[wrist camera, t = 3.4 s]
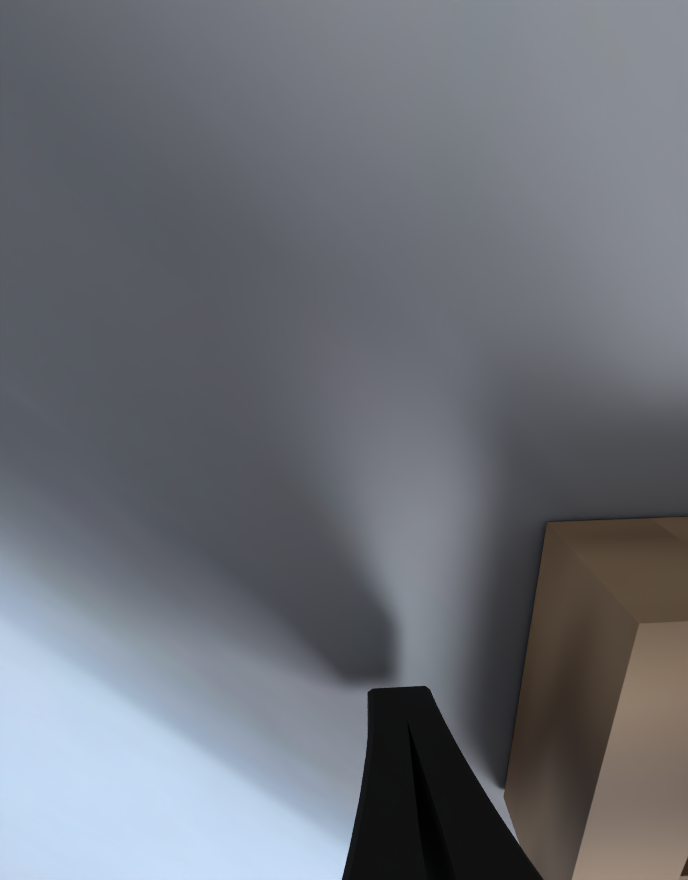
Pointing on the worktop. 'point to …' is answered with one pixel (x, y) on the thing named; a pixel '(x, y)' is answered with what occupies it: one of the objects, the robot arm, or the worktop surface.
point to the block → (605, 705)
